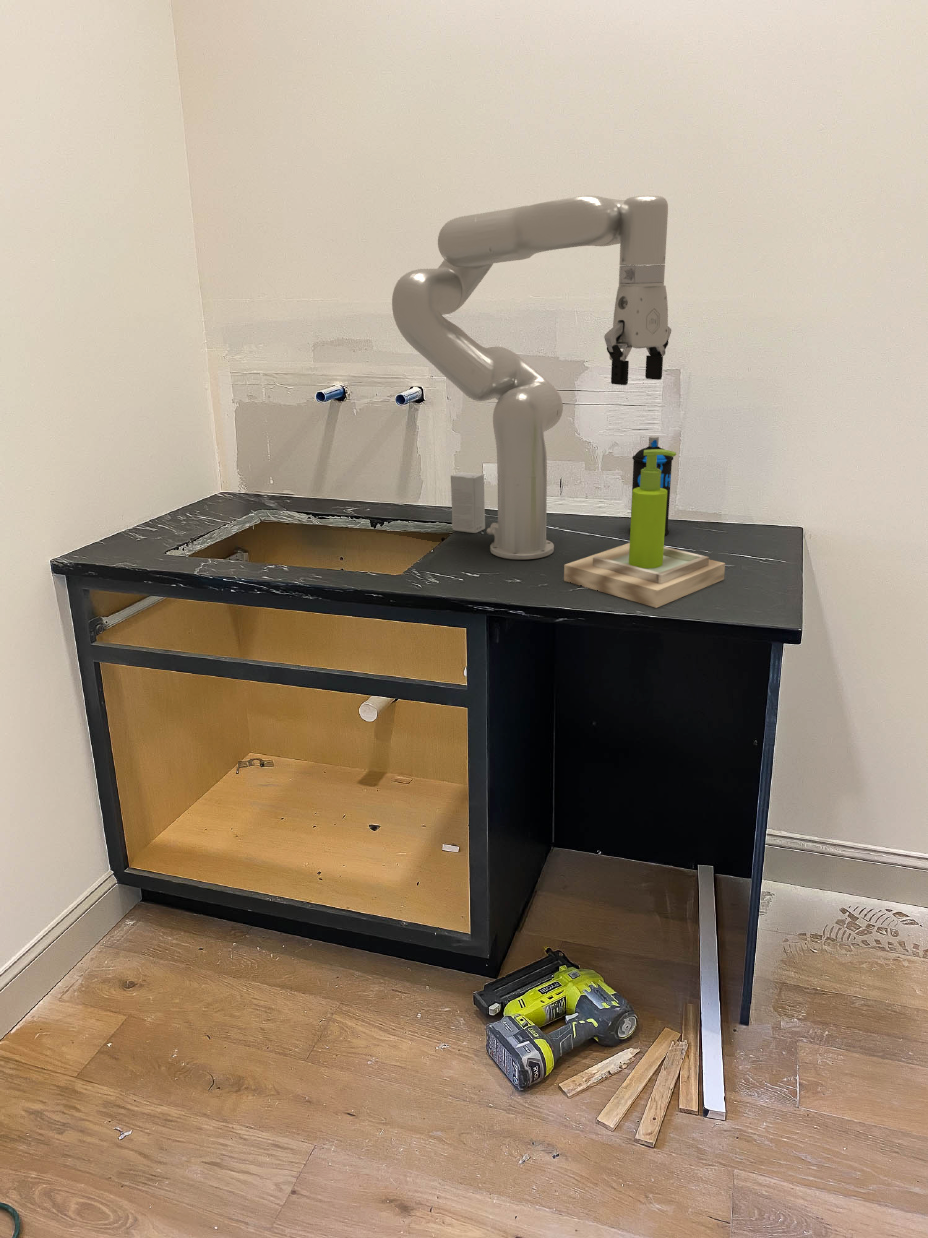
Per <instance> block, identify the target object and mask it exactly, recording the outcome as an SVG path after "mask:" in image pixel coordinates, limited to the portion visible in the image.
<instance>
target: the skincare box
mask: <svg viewBox="0 0 928 1238" xmlns="http://www.w3.org/2000/svg"><path fill="white" fill-rule="evenodd" d="M450 490H451V491H450V493H451V495H450V496H451V522H452V523H451V525H452V526H451V527H452V529H451V530H452V531H457V532H463V533H464V532H465V533H470V534H471V533H472V534H477V533H479V532H481V531H483V530H485V529H486V512H485V511H486V508H485V507H486V506H485V503H486V502H485V475H484V474H483V473H482V474H481V473H473V472H462V471H460V472H457V473H455V474H452V475H450Z"/></svg>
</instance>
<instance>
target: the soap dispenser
mask: <svg viewBox="0 0 928 1238" xmlns="http://www.w3.org/2000/svg"><path fill="white" fill-rule="evenodd" d="M664 449H665V448H663V449H651V450H644V455H647V461H646V467H645V468H644V469H642V470H641V479H640V487H638V488H635V489H633V490H632V489H631V505H632V509H630V510H631V511H630V526H631V529H630V528H629V529H630V532H629V543H630V548H629V564H630V565H632V566H636V567H639V568H657V567H660V566H662V564H663V551H664V547H665V546H664V545H665V537H666V535H665V520H666V505H667V490H666V489H663V488H660V482H661V470H660V469H658V468H657V467H656V464H657V455H668V456H672V457H673V458H675V456H676V455H677V452H676V451H673V450H668V449H665V450H664Z"/></svg>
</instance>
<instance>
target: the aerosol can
mask: <svg viewBox="0 0 928 1238" xmlns="http://www.w3.org/2000/svg"><path fill="white" fill-rule="evenodd" d="M659 437H660V436H658V435H650V436H648V446H646V447H644V448H641V449H640V450H638V451H637V452H636V453H635V454H634V455H632V460H633V462H632V463H633V464H632V465H633V466H632V467H633V468H632V483H631V485H632V489H631V491H632V490H633V489H635V488H638V487H640V479H641V470H642V469H644V468H645V467H646V461H647V455H644V450H651V449H664V450H666V449H665V448H661V447H660V446H659V441H660V438H659ZM673 461H674V457H672V456H668V455H657V464H656V467H657V468H658V469H660V470H661V482H660V488H663V489H666V490H667V505H666V520H665V536H667V535H668V534H669V533H670V531H669V513H670V499H671V498H670V497H671V481H672V479H671V478H672V467H673V466H672V464H673V463H672V462H673ZM630 508H631V509H632V504H631V507H630ZM631 509H630V510H631ZM630 529H631V525H630V528H629V530H628V531H629V533H630Z"/></svg>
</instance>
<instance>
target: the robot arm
mask: <svg viewBox="0 0 928 1238" xmlns="http://www.w3.org/2000/svg"><path fill="white" fill-rule="evenodd" d="M668 218H669V203H668V200H667V199H666V198H665V197H663V196H659V195H638V196H637V195H636V196H632V197H631V196H630V197H628V198H626V199H614V198H608V197H603V196H599V195H582V196H581V195H580V196H575V197H568V198H561V199H556V200H550V201H543V202H540V203H535V204H530V205H523V206H518V207H512V208H506V209H498V210H494V211H487V212H481V213H475V214H469V215H464V216H458V217H455V218H452V219H450V220H449V221H447V222H446V223H444V224H443V226H442V227H441V229H440V231H439V232H438V235H437V248H438V251H439V253H440V256H441V257H442V258H443V261H442V262H441V264H440V265H438V267H437V268H420V269H419V268H418V269H415V270H410V271H408V272H406V273H405V274H403V275H402V276H401V277H400V278H399V279H398V280H397V282H396V284H395V285H394V288H393V292H392V299H391V307H392V315H393V319H394V322H395V325H396V327H397V329H398V332H400V334H401V336H402V337H403V338H404V339H405V341H406V342H407V343H408V344H409V345H410V346H411V347H412V348H413V349H414V350H415V351H416V352H417V353H419V354H420V355H421V356H422V357H423V358H424V359H426V360H427V361H428V362H429V363H430V364H431V365H433V366H434V368H435V369H436V370H438V371H439V372H440V373H441V374H442V375H443V376H444V377H445V378H447V380H449V381H450V382H451V383H452V384H453V385H454V386H455V387H456V388H458V389H459V390H460V391H461V392H462V393H463V394H464V395H465V396H466V397H468V398H470V399H471V400H473V401H477V402H486V401H491V400H492V399H496V400H497V402H496V403H495V406H494V407H493V408H494V409H493V412H492V425H493V433H494V434H493V435H494V440H495V445H496V447H495V449H496V470H497V471H496V473H497V522H492V523H491V524H490V527H487V529H486V534H487V535H491V536H494V541H493V542H491V544H490V546H489V548H490V549H489V550H490V553H491V554H493V556H496V557H499V558H503V559H508V560H518V561H519V560H522V561H523V560H525V561H526V560H535V559H541V558H545V557H548V556H550V555H551V554H553V553H554V551H555V544H554V543H553V542H552V541H550V540H548V539H547V513H548V512H547V509H548V508H547V506H548V505H547V504H548V503H547V502H548V501H547V500H548V498H547V496H548V491H547V490H548V488H547V487H548V457H547V456H548V455H547V448H546V441H545V435H544V432H547V431H549V430H550V429H553V427H555V426H556V424H557V423H558V422H559V421H560V419H561V418H562V414H563V411H564V408H563V407H564V404H563V400H562V397H561V395H560V393H559V392H558V390H557V388H555V386H554V385H553V384H552V383H550V382H549V381H548V380H547V379H546V377H544V376H543V375H541V373H539V372H538V371H537V370H536V369H535V368H533V366H531V365H530V364H529V363H528V362H526V361H525V360H524V359H523V358H522V357H521V356H520V355H518V354H517V353H516V352H514V351H513V350H511V349H508V348H506V347H502V346H489V347H485V346H483V345H480V344H479V343H478V342H477V341H476V340H474V339H472V337H471V336H470V335H469V334H467V333H466V332H465V331H464V330H463V329H462V328H461V327H459V326H458V325H456V324H455V323H453V322H452V321H450V320H448V319H447V318H446V317H445V316H446V315H451V314H452V313H455V312H456V311H457V310H459V309H460V308H461V307H463V305H464V304H465V303H466V301H467V300H468V299H469V298H470V297H471V295H472V294H473V293H474V291H475V290H476V289H477V287H478V286H479V284H480V283H481V282H482V281H483V279H484V278H485V277H486V275H487V274H488V272H489V271H490V270H491V268H492V266H494V264H498V263H506V262H507V263H508V262H514V261H522V260H526V259H530V258H531V257H532V256H534V255H536V254H539V253H543V252H548V251H555V250H562V249H569V248H578V247H579V248H580V247H594V246H595V247H609V246H610V247H611V246H614V245H619V264H618V265H619V269H618V271H619V272H618V287H617V290H616V296H615V303H614V310H613V311H614V312H613V319H612V320H613V321H612V322H613V323H612V327H611V328H610V329H609V330H608V331H607V332H606V333H605V334H604V335H603V336H604V337H603V339H604V342H605V345H606V352H607V353H608V355H609V356H608V357H609V360H610V361H611V371H610V373H611V375H610V384H612V385H619V386H627V385H628V384H629V368H630V365H629V360H627V358H628V357H629V354H630V352H631V350H632V348H634V349H646V350H647V352H648V353H647V354H648V355H646V357H645V377H644V378H645V379H646V380H656V381H659V380H662V378H663V365H664V356H665V355H666V349H667V347H668V346H669V339H670V337H671V333H672V328H671V327H670V326H669V313H668V312H669V309H668V308H669V306H668V294H667V286H666V285H665V273H666V272H665V270H666V265H665V264H666V254H667V253H666V252H667V235H668Z"/></svg>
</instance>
